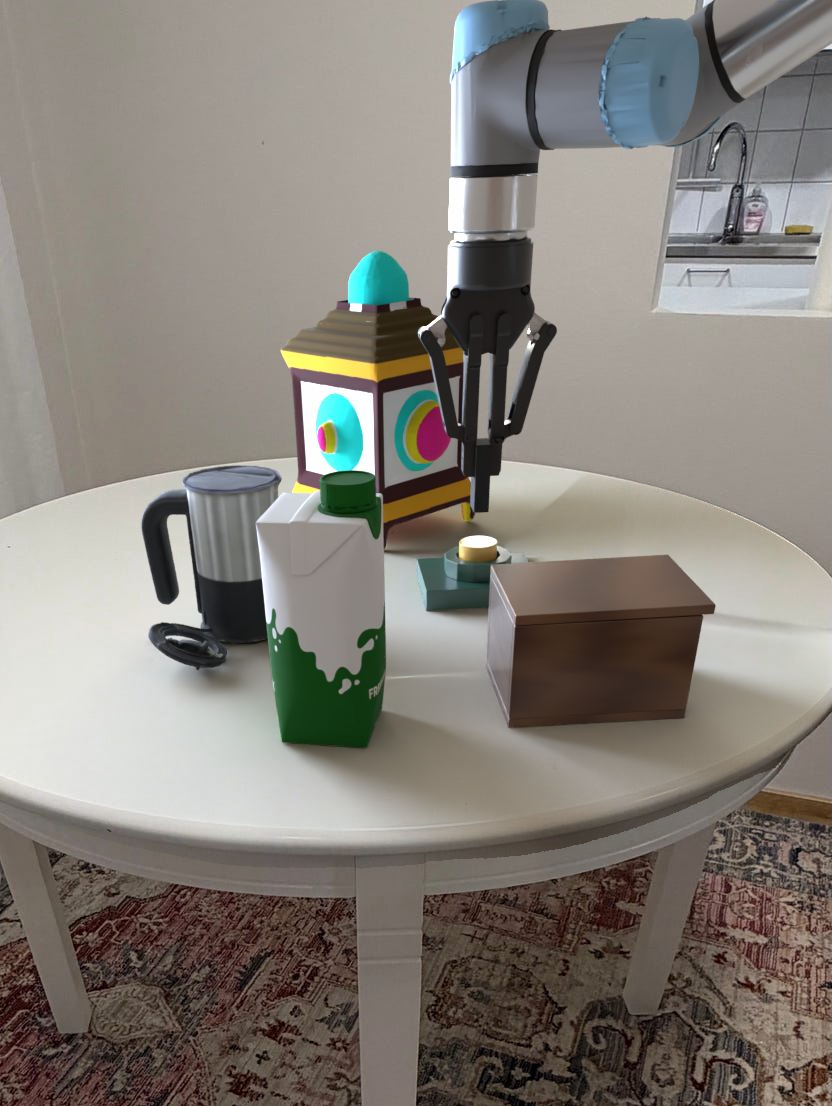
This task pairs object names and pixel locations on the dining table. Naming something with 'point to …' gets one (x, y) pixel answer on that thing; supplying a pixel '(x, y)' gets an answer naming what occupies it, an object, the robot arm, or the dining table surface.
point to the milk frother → (212, 559)
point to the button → (478, 548)
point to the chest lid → (598, 590)
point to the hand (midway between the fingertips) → (479, 508)
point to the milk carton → (326, 609)
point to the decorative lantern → (378, 397)
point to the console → (459, 580)
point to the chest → (590, 667)
